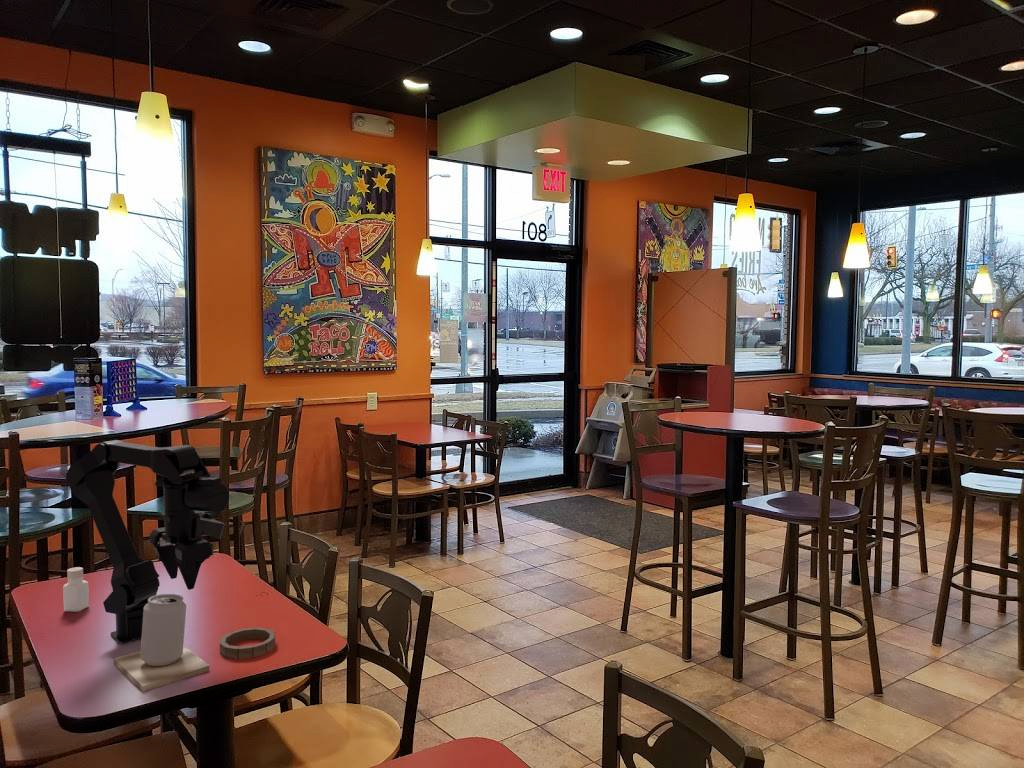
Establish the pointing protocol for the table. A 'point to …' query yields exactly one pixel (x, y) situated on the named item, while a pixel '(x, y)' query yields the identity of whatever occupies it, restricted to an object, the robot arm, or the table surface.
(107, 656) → the table surface
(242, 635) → the walnut collar
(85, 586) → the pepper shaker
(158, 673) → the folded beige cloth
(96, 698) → the table surface
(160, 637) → the can
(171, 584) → the table surface
